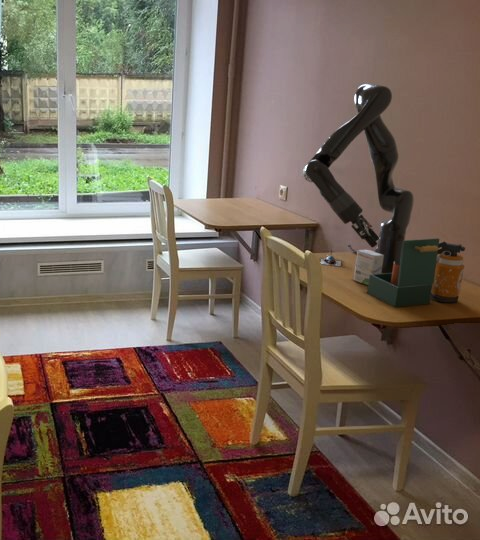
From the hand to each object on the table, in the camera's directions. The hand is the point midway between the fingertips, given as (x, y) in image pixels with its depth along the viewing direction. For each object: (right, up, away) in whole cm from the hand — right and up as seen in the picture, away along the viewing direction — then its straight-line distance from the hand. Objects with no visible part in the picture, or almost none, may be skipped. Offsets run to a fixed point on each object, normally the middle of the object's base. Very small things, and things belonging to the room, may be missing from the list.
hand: (376, 243), depth 209 cm
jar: (+7, -18, +2) cm, 20 cm away
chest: (+8, -19, +1) cm, 21 cm away
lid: (+10, -7, -9) cm, 15 cm away
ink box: (+4, -14, +17) cm, 22 cm away
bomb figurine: (-1, -6, +41) cm, 42 cm away
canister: (+22, -19, +1) cm, 30 cm away
